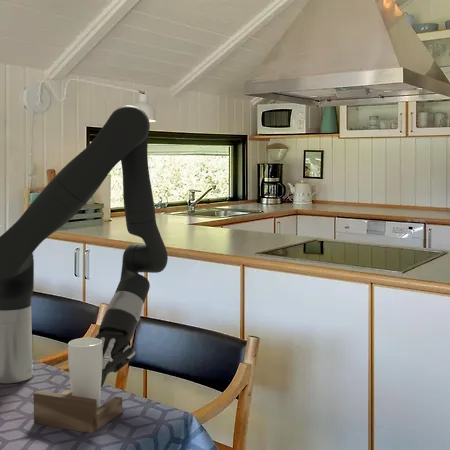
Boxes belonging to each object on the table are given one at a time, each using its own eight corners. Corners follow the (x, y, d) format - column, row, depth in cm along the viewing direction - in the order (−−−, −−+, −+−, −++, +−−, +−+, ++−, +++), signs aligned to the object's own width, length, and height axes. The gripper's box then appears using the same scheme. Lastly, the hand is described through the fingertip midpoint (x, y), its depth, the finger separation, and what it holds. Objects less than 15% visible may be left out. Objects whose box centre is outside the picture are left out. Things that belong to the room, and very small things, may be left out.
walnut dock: (67, 403, 129) (67, 375, 129) (122, 411, 125) (122, 383, 124) (34, 423, 119) (33, 393, 118) (92, 433, 114) (91, 402, 114)
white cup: (77, 424, 118) (75, 348, 117) (64, 413, 124) (62, 340, 123) (109, 416, 122) (108, 342, 121) (95, 405, 128) (94, 335, 127)
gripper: (89, 305, 136) (58, 376, 125) (142, 309, 131) (115, 383, 121) (102, 322, 141) (74, 392, 131) (154, 327, 137) (128, 399, 126)
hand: (94, 387), depth 126 cm, fingers closed
